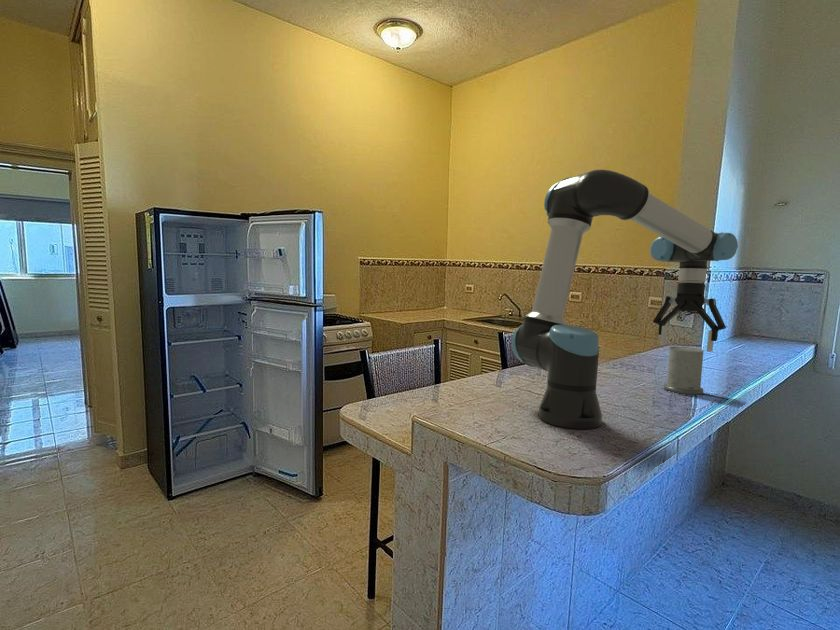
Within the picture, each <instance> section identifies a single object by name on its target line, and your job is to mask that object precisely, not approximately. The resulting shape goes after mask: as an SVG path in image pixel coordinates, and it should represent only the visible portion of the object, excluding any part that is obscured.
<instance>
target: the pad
mask: <svg viewBox="0 0 840 630" xmlns="http://www.w3.org/2000/svg"><path fill="white" fill-rule="evenodd" d="M663 384H664V385H663V390H664V389H665V390H667V391H666V392H668V391H670V392H669V393H671V392H674V393H673V394H675V393H679V394H678V395H680V394H685V395H684V396H687V395H701V394H703V395H704V387H701V386H700V388H701V389H700V390H684V389H677V388H673V387H670V386H668V385H667V382H665V383H663ZM665 390H664V391H665ZM701 396H702V395H701Z"/></svg>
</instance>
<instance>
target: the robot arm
mask: <svg viewBox="0 0 840 630" xmlns="http://www.w3.org/2000/svg"><path fill="white" fill-rule="evenodd" d="M543 203H544V204H543V205H544V206H543V207H544V210H545V214H546V216H547V218H548V219H547V224H548V226H549V227H550V233H549V239H548V242H547V246H546V251H545V254H544V259H543V263H542V267H541V271H540V276H539V280H538V284H537V287H536V288H537V289H536V293H535V297H534V302H533V305H532V310H531V311H530V312H528V313H527V314H525V316H524V318H523V319H524V320H523V323H522V324H521V325H519V327H517V328H516V329H515V330H514V331H513V334H512V336H511V348H512V349H511V350H512V352H513V354H514V356H515V357H516V359H518V360H519V361H520V362H521V363H523V364H525V365H527V366H528V367H532V368H537V369H540V370H543V371H544V372H545V371H546V372H547V384H546V389H545V391H544V393H543V394H544V395H543V396H542V398H541V402H540V404H539V406H538V418H539V419H540V420H541V421H543V422H545V423H547V424H549V425H553V426H556V427H560V428H565V429H572V430H573V429H574V430H591V429H592V430H593V429H595V428H596V429H597V428H598V427H601V425H602V423H603V413H602V409H601V407H600V402H599V399H598V395H597V383H598V382H597V380H598V366H599V356H600V354H599V353H600V345H599V340H600V339H599V335H598V334H597V333H596V332H595V331H593V330H592V329H589V328H587V327H584V326H583V327H582V326H578V325H577V326H576V325H572V324H567V322H566V321H565V318H564V317H565V316H564V315H565V310H566V306H567V303H568V298H569V294H570V291H571V287H572V286H571V285H572V282H573V277H574V274H575V269H576V264H577V261H578V257H579V252H580V247H581V244H582V241H583V240H582V239H583V236H584V234H586V233H587V232H588V231H590V230H591V227H592V222H593V219H594V217H599V216H611V217H616V218H618V219H620V220H621V221H629V220H630V221H632V222H634V223H636V224H638V225H640V226H641V227H643V228H645V229H647V230H649V231H651V232H653V233H655V234H656V235H657V236H659V237H656V238H655V239H654V240H653V241H652V243H651V244H650V248H649V253H650V256H651V258H652V259H653V260H655V261H659V262H662V263H667V262H668V263H679V267H678V268H679V270H678V278H677V279H678V280H677V281H679V282H678V283H677V289H676V297H674V296H671V295H670V296H668V295H667V296H666V297H665V301H664V303H663V305H662V306H661V308H660V310H659V311H658V313H657V314H656V316H655V317H654V319H652V320H653V323H654V324H657V325H658V336H660V344H659V345H660V346H661V347H663V346H666V345H667V338H668V325H667V324H668V323H669V322H670V320H672V319H673V318H674V317H675V316H677V314H679V313H680V312H681V311H682V312H692V313H695V312H696V313H697V314H699V316H701V318H702V319H703V321H704V322H705V323H706V324H707V326H708V327H709V328H710V330H708V335H707V343H706V345H707V346H706V353H707V352H708V353H709V352H713V350H714V349H713V348H714V342H717V341H718V335H719V331H721V330H726V328H727V327H726V325H725V322H724V320H723V318H722V315H721V313H720V311H719V309H718V307H717V300H716V298H708V299H707V298H705V295H706V293H705V291H706V284H705V282H706V280H707V273H708V272H707V271H708V269H707V268H708V266H707V265H708V262H719V261H727V260H730V259H732V258H733V257H734V256H735V255H736V254H737V250H738V245H739V244H738V242H739V241H738V239H737V237H736V236H735V234H733V233H731V232H714V231H713V230H711V229H709V228H708V227H706V226H704V225H703V224H701V223H700V222H698V221H696V220H694V219H693V218H691V217H690V216H688V215H686V214H684V213H683V212H681V211H679V210H677V209H676V208H674V207H673V206H671V205H669V204H667V203H666V202H664V201H663V200H661V199H659V198H658V197H656V196H654V195H653V194H651V193H650V190H649V188H648V186H647V185H645V184H643V183H641V182H639V181H638V180H636V179H635V178H632V177H630V176H628V175H626V174H623V173H619V172H617V171H612V170H609V169H593V170H590V171H588V172H584V173H582V174H578V175H575V176H571V177H566V178H564V179H561V180H560V181H558V182H556V183H554V184H553V185H551V186H550V188H549V189H548V190H547V193H546V195H545V197H544V202H543ZM674 302H675V304H676V306H674V307H673V308H672V310H671V311H670V312H669V313H668V314H667V312H668V310H669V308H670V307H671V305H672V304H673V303H674ZM705 304H706V305H707V306H708V307H709V309H710V312H711V315H712V317H713V318H714V320H713V319H712V318H711V316H710V315H709V314H708V313H707V312H706V310H705V309H704V307H703V306H704V305H705ZM666 314H667V315H666ZM665 315H666V316H665ZM714 321H715V322H714Z"/></svg>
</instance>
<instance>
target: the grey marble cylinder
mask: <svg viewBox="0 0 840 630" xmlns="http://www.w3.org/2000/svg"><path fill="white" fill-rule="evenodd" d="M704 351H705V350H703V349H701V348H695V347H687V346H670V347H669V351H668V364H667V365H668V367H667V378H666V379H667V380H666V383H667V385H668V386H670V387H673V388H677V389H684V390H700V389H701V388H702V387H701V384H702V374H703V373H702V372H703V362H704V361H703V360H704ZM700 387H701V388H700Z"/></svg>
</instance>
